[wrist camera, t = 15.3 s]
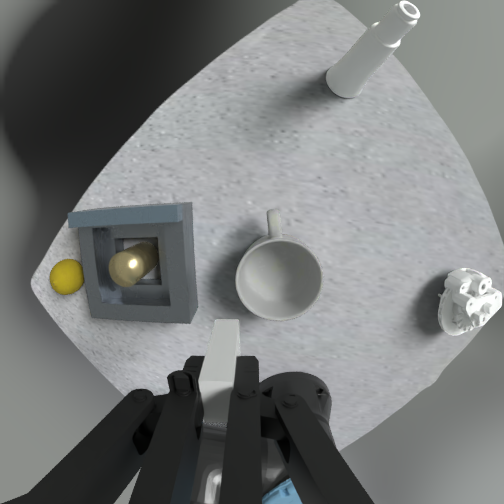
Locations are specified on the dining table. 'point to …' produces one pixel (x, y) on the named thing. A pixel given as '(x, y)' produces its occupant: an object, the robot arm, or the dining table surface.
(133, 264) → the brass cylinder
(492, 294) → the mechanical part
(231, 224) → the dining table surface
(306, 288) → the teacup
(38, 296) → the dining table surface
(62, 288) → the lemon
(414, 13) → the cosmetic bottle
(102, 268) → the jig
